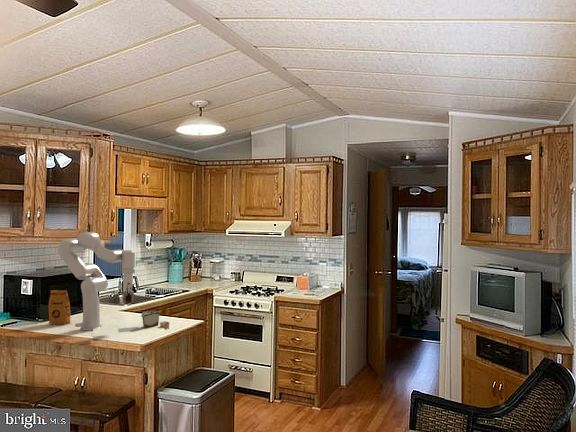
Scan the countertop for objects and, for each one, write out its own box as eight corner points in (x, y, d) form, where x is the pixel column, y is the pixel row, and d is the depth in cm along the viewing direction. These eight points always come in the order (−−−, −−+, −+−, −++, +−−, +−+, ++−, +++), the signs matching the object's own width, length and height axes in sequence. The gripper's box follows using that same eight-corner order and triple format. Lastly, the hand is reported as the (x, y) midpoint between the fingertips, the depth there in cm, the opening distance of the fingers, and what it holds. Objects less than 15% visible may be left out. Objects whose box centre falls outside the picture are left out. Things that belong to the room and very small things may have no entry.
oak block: (163, 329, 290) (163, 323, 290) (160, 328, 293) (160, 322, 293) (169, 328, 293) (169, 322, 293) (166, 327, 296) (166, 321, 296)
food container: (154, 325, 301) (154, 309, 301) (160, 326, 297) (160, 311, 297) (137, 329, 291) (137, 313, 291) (143, 330, 287) (142, 314, 287)
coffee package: (64, 326, 302) (64, 291, 302) (46, 325, 304) (46, 291, 304) (73, 322, 312) (73, 289, 312) (55, 322, 314) (55, 288, 314)
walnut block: (123, 302, 282) (123, 292, 282) (122, 301, 288) (122, 291, 288) (133, 302, 284) (133, 292, 284) (133, 300, 290) (133, 290, 290)
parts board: (118, 334, 279) (118, 332, 279) (118, 330, 288) (118, 328, 288) (140, 332, 284) (140, 330, 284) (138, 328, 293) (138, 326, 293)
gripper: (120, 269, 292) (120, 298, 293) (122, 272, 277) (122, 303, 277) (133, 269, 295) (133, 297, 295) (135, 272, 279) (135, 302, 279)
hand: (128, 300), depth 286 cm, fingers closed on walnut block, 6 cm apart
